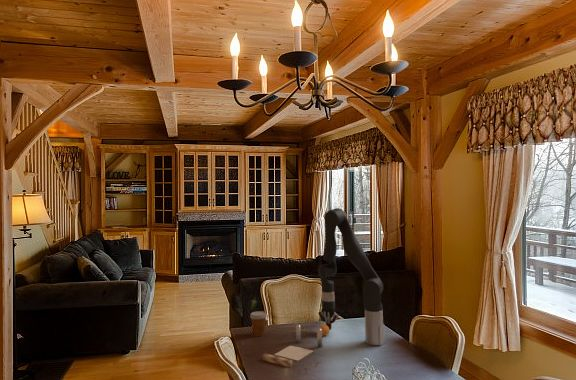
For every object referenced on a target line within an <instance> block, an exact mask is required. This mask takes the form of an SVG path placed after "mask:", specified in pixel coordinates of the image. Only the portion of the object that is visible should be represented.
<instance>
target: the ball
mask: <svg viewBox="0 0 576 380" xmlns="http://www.w3.org/2000/svg"><path fill="white" fill-rule="evenodd" d="M318 328H321V329H322V337H323V336H324V337H326V336H327V335H328V334H329V333H330V330H329V327H328V326H327V325H326V323H324V324H321V325H319V327H318Z"/></svg>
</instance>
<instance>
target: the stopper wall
mask: <svg viewBox="0 0 576 380" xmlns="http://www.w3.org/2000/svg"><path fill="white" fill-rule="evenodd" d="M262 361H265V362H269V363H272V364H276V365H280V366H284V367H288V368H291V367H293V365H294V362H293V361H294V360H293V359H289V358H285V357H281V356H277V355H274V354H269V353H262Z"/></svg>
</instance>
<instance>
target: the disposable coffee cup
mask: <svg viewBox="0 0 576 380" xmlns="http://www.w3.org/2000/svg"><path fill="white" fill-rule="evenodd" d="M267 316H268V314H267V313H266V311H260V310H258V311H253V312H251V313H250V315H249V318H250V321H251V328H252V335H253V336H254V337H258V336H259V337H263V336H265V334H266V333H265V332H266V324H267V323H266V322H267Z"/></svg>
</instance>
